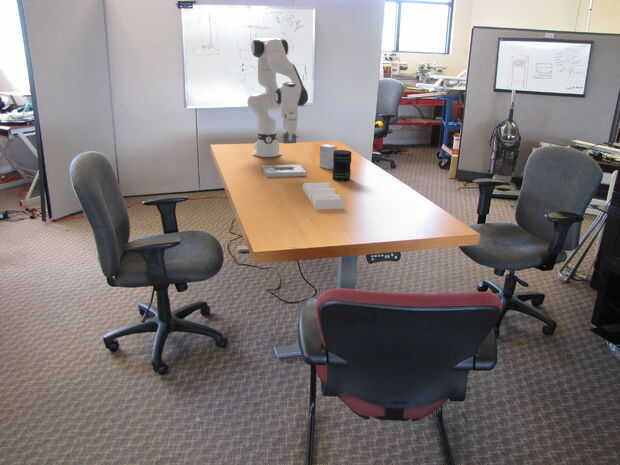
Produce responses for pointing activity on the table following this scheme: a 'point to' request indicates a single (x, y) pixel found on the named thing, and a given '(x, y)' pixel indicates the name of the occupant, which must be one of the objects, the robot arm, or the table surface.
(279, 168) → the chassis
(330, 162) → the small box
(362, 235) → the table surface
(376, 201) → the table surface
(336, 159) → the dark ribbed barrel
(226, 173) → the table surface
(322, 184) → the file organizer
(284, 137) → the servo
